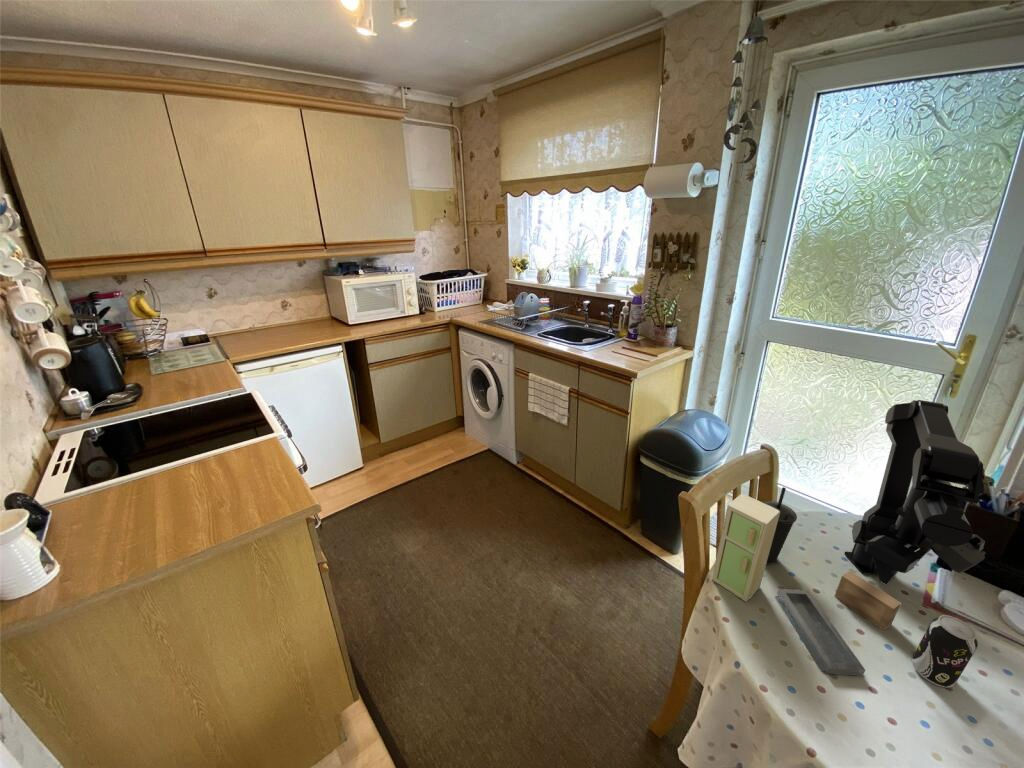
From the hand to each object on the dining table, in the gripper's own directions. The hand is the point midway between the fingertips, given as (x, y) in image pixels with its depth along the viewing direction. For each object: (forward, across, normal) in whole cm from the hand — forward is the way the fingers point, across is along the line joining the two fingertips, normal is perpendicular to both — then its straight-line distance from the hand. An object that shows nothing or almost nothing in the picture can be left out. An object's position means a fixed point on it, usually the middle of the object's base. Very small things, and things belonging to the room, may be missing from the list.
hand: (896, 574), depth 80 cm
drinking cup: (+12, -5, +21) cm, 25 cm away
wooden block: (+12, 0, +2) cm, 12 cm away
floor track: (+12, -15, +4) cm, 19 cm away
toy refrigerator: (+12, -19, +18) cm, 29 cm away
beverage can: (+12, -4, -10) cm, 17 cm away
